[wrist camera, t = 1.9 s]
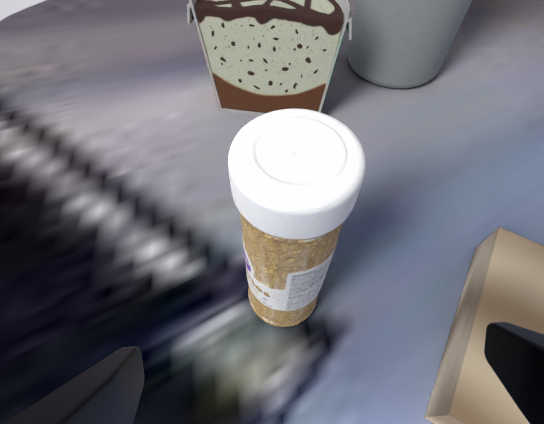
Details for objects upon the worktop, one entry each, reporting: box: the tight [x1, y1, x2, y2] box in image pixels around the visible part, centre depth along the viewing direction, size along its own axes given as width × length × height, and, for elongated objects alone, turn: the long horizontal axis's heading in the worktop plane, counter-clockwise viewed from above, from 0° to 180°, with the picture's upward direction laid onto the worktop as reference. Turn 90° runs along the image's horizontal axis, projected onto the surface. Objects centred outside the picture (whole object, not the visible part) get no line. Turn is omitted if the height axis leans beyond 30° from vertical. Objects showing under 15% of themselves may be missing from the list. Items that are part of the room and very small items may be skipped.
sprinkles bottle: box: [228, 109, 366, 327], centre depth 16 cm, size 5×5×13 cm
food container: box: [187, 0, 352, 116], centre depth 29 cm, size 12×6×10 cm, turn 80°
